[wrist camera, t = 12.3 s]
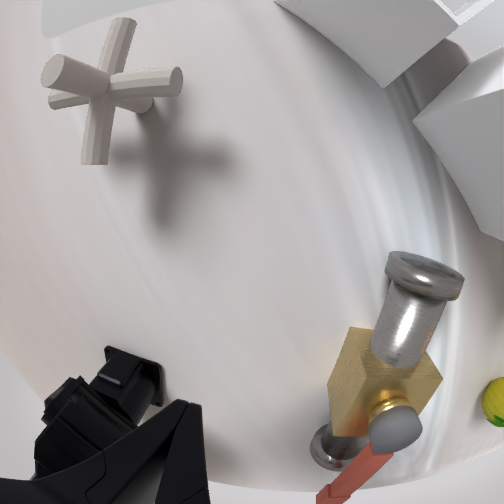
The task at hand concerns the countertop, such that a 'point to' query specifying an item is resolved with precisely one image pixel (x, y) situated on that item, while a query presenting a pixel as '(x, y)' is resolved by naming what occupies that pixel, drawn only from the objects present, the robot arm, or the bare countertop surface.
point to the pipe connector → (107, 88)
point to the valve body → (386, 358)
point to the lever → (374, 452)
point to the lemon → (494, 402)
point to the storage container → (447, 102)
